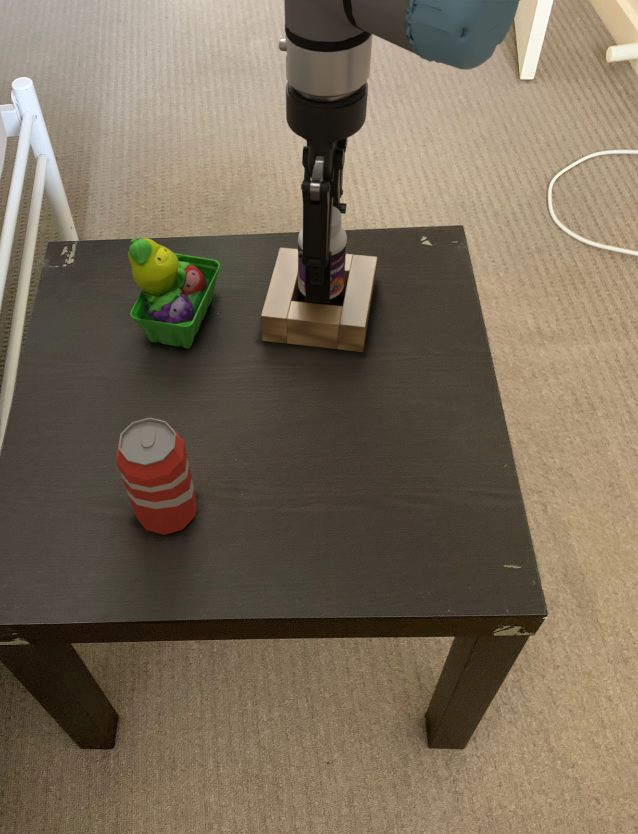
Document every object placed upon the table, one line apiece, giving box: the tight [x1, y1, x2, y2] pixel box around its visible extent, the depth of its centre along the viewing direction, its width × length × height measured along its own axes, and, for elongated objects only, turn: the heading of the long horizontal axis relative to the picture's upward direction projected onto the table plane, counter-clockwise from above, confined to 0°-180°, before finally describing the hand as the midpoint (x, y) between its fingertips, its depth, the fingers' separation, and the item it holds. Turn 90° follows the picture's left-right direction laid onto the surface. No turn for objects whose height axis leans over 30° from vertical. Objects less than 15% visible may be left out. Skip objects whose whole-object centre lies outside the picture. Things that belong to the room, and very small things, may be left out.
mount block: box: [260, 247, 378, 353], centre depth 90 cm, size 12×12×4 cm
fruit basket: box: [127, 237, 221, 349], centre depth 87 cm, size 11×9×11 cm
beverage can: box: [115, 417, 197, 536], centre depth 72 cm, size 6×6×12 cm
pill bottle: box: [297, 206, 348, 300], centre depth 84 cm, size 5×5×10 cm
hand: (321, 281), depth 87 cm, fingers closed on pill bottle, 5 cm apart
